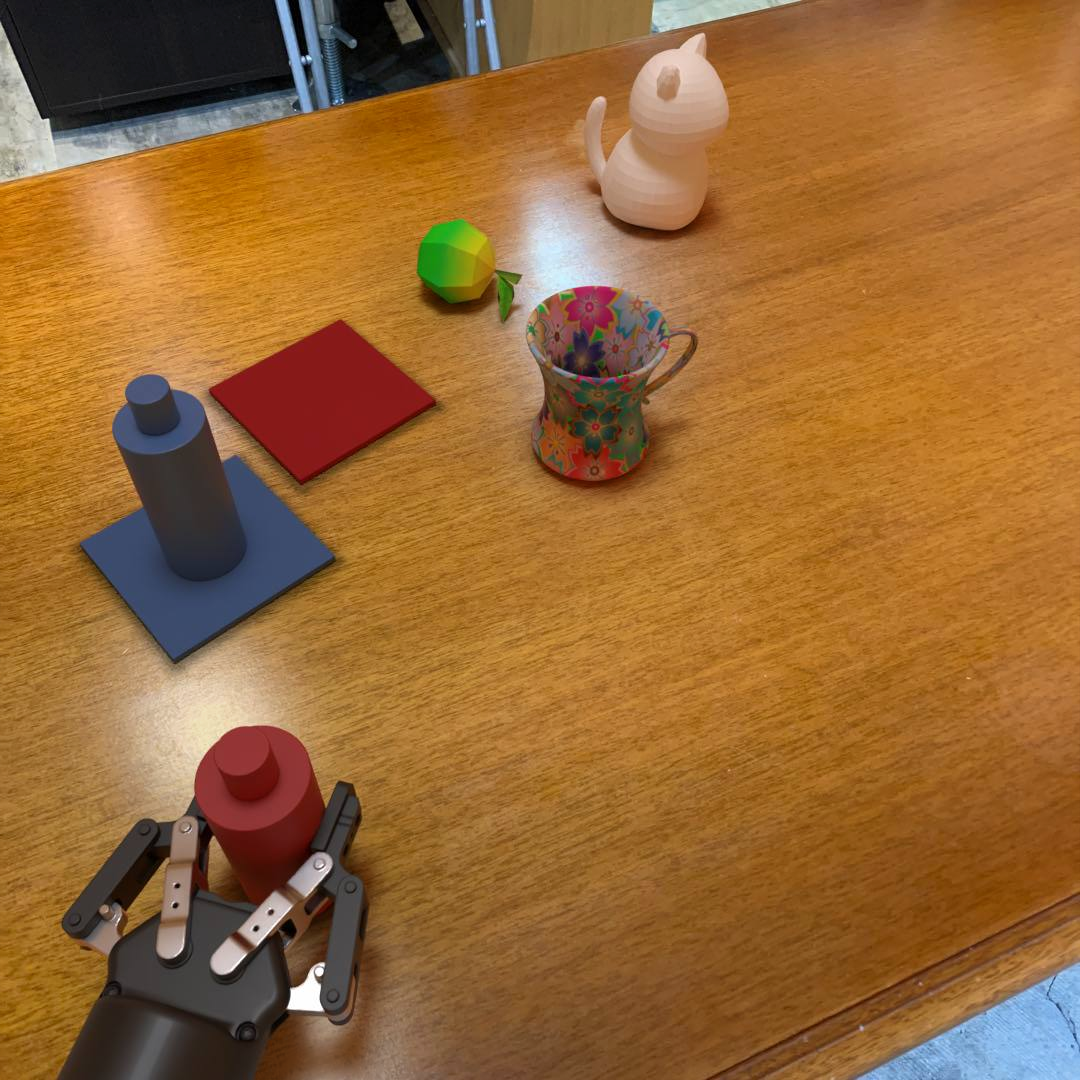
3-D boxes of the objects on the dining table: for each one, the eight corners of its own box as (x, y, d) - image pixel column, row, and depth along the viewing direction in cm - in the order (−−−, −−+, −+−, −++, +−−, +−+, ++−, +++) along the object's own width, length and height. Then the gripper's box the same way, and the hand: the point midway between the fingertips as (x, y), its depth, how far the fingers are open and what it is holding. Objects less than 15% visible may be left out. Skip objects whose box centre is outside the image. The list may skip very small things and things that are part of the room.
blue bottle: (192, 594, 69) (127, 436, 57) (151, 546, 71) (80, 385, 60) (262, 551, 71) (212, 391, 60) (219, 506, 73) (164, 343, 62)
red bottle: (282, 945, 56) (221, 831, 45) (227, 871, 58) (157, 745, 47) (363, 879, 58) (326, 754, 47) (308, 811, 60) (259, 676, 49)
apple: (411, 205, 83) (521, 230, 81) (440, 216, 89) (542, 239, 87) (393, 297, 85) (500, 324, 83) (422, 302, 91) (522, 327, 89)
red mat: (301, 484, 75) (299, 480, 75) (209, 393, 81) (207, 388, 80) (436, 404, 80) (435, 399, 80) (341, 323, 86) (340, 318, 85)
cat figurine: (689, 257, 92) (714, 89, 80) (557, 215, 95) (563, 48, 83) (728, 202, 97) (757, 36, 85) (601, 163, 100) (612, -1, 88)
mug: (549, 506, 74) (553, 394, 66) (508, 414, 80) (507, 300, 71) (709, 466, 77) (732, 353, 69) (659, 379, 82) (674, 265, 74)
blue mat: (175, 663, 66) (172, 659, 66) (81, 547, 72) (78, 542, 71) (336, 560, 71) (335, 555, 71) (237, 458, 77) (235, 454, 76)
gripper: (276, 1181, 40) (424, 775, 50) (-66, 1071, 42) (142, 702, 52) (308, 1208, 46) (434, 839, 56) (6, 1110, 48) (180, 772, 58)
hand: (292, 775), depth 54 cm, fingers closed on red bottle, 5 cm apart
